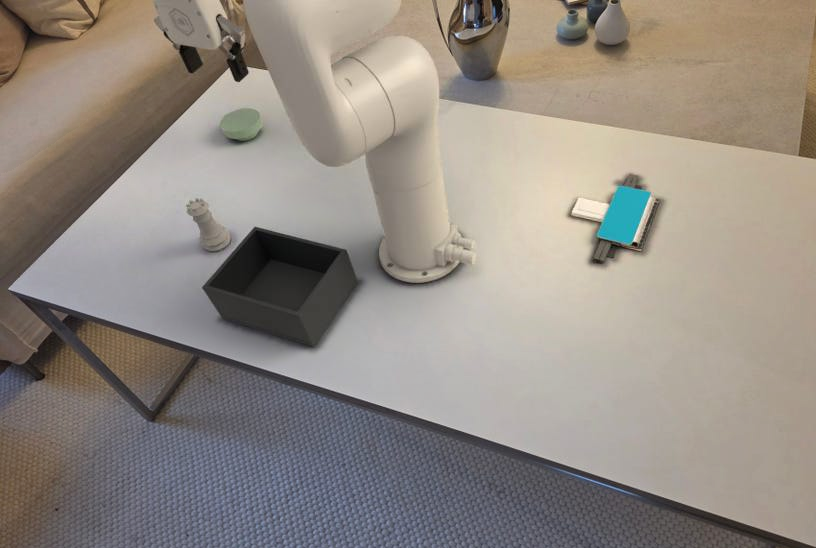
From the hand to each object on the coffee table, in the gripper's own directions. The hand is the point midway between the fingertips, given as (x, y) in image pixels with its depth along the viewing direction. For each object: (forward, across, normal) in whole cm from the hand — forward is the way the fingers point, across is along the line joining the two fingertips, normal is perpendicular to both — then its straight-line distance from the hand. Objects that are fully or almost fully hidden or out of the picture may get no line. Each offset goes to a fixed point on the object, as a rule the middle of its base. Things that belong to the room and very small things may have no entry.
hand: (219, 73), depth 101 cm
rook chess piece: (+12, +13, -26) cm, 32 cm away
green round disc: (+12, 0, 0) cm, 12 cm away
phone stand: (+11, +70, -2) cm, 71 cm away
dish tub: (+11, +31, -33) cm, 47 cm away
